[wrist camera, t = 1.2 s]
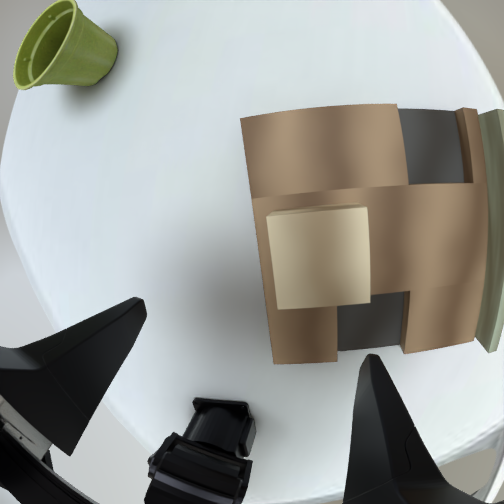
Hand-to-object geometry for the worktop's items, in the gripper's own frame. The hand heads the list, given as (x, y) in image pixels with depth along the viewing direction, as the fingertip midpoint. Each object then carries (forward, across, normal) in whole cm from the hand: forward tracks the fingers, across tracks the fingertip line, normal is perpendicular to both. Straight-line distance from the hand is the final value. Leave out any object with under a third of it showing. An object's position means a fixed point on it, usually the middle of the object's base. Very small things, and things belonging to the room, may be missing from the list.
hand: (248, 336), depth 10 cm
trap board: (+14, -7, +1) cm, 15 cm away
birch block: (+11, -2, +2) cm, 12 cm away
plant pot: (+17, +23, -13) cm, 31 cm away
